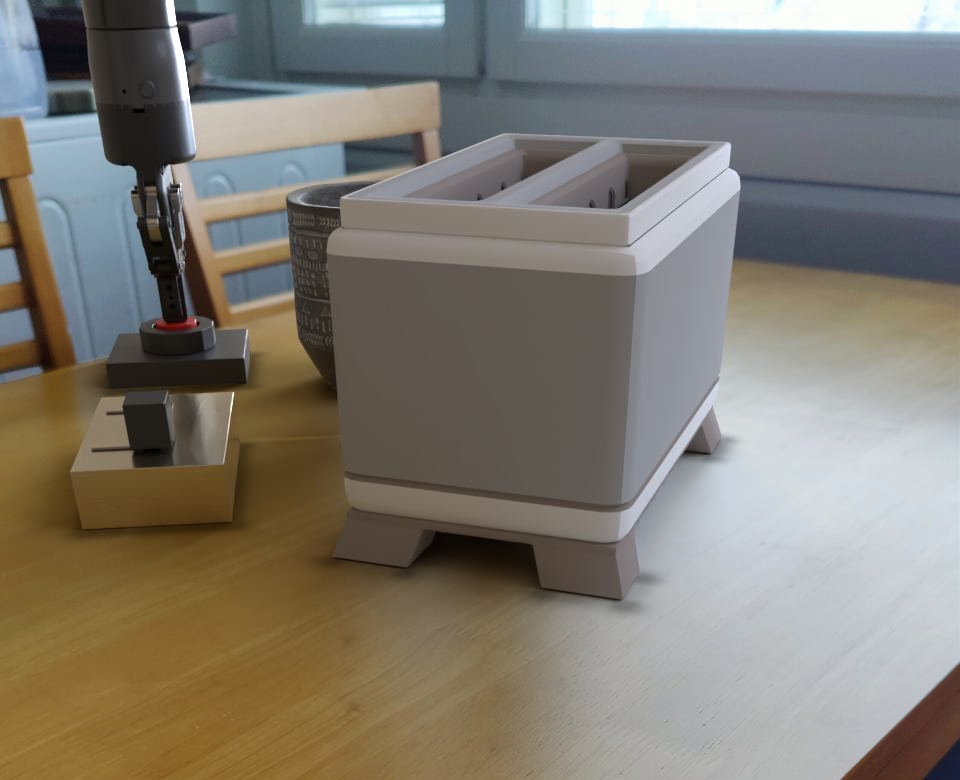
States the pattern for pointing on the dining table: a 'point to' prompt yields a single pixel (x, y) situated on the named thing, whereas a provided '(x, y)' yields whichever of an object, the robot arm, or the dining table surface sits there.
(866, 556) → the dining table surface
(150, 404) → the slider
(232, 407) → the panel
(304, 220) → the planter
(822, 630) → the dining table surface
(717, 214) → the toaster
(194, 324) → the button
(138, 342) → the button housing
